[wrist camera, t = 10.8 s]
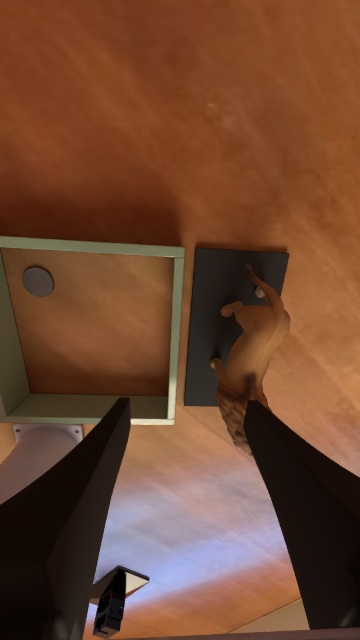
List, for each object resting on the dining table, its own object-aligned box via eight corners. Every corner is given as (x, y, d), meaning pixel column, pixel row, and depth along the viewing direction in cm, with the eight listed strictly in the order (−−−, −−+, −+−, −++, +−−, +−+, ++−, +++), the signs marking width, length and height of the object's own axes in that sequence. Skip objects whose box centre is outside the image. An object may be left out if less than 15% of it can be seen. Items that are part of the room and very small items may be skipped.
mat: (255, 404, 24) (256, 407, 24) (183, 403, 24) (184, 406, 23) (287, 253, 19) (290, 253, 18) (195, 247, 18) (196, 247, 18)
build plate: (118, 565, 34) (111, 611, 29) (151, 578, 35) (148, 623, 31) (79, 596, 36) (66, 643, 32) (111, 607, 38) (103, 653, 33)
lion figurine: (249, 392, 23) (295, 472, 14) (205, 392, 23) (225, 473, 14) (270, 264, 18) (355, 269, 10) (216, 263, 18) (254, 266, 10)
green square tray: (174, 401, 24) (174, 425, 20) (25, 398, 23) (-1, 422, 19) (182, 249, 18) (185, 247, 15) (-12, 237, 17) (-55, 232, 14)
